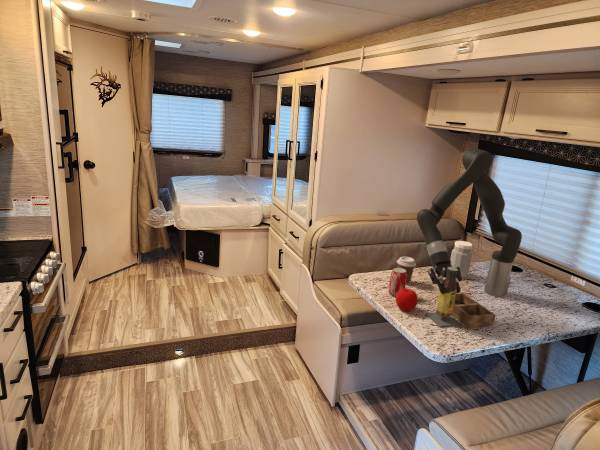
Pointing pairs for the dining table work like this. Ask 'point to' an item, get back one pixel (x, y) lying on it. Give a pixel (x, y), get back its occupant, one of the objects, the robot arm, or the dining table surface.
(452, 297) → the sauce bottle
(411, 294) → the fruit
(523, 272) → the dining table surface
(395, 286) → the soda can
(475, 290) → the dining table surface
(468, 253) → the jar
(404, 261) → the coffee cup
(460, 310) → the caddy
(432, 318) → the coaster
